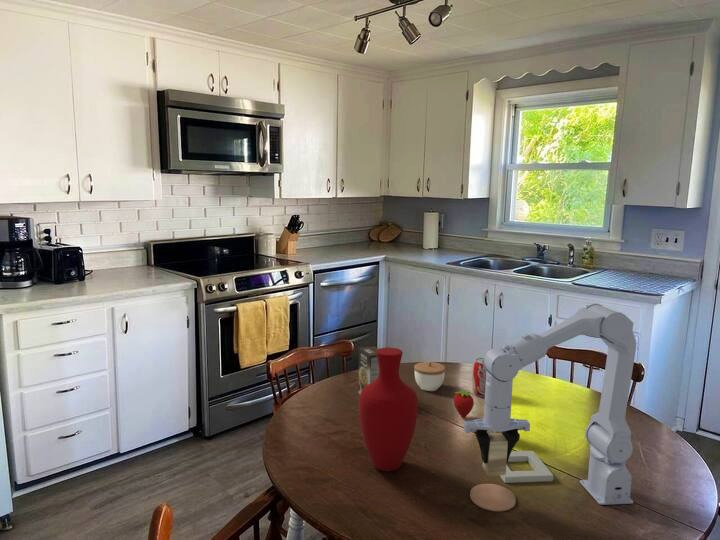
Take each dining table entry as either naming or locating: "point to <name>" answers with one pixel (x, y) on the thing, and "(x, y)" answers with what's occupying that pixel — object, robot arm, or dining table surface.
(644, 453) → the dining table surface
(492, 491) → the pink disc
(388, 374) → the vase
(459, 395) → the strawberry
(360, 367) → the coffee box
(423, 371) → the lidded jar
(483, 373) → the soda can
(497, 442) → the maple block
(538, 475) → the grey square frame
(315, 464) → the dining table surface
